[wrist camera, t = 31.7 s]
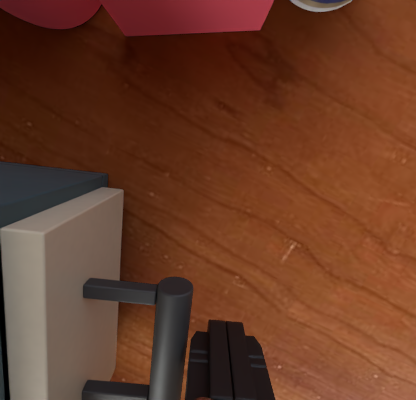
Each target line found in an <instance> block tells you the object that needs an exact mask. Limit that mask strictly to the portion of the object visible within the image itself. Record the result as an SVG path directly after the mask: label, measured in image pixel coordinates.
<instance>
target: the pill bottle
mask: <svg viewBox="0 0 416 400" xmlns="http://www.w3.org/2000/svg"><path fill="white" fill-rule="evenodd" d="M290 1H291V2H292V3H294V4H295V5H297V6H298V7H300V8H303V9H305V10H309V11H314V12H325V11H331V10H335V9H338V8H340V7H342V6H344V5H346V4H348V3H349V2H351V1H352V0H290Z"/></svg>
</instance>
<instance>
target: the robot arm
mask: <svg viewBox="0 0 416 400" xmlns="http://www.w3.org/2000/svg"><path fill="white" fill-rule="evenodd" d="M185 400H275V397H274V393H273V389H272V385H271V382H270V378H269V374H268V370H267V368H266V363H265V359H264V355H263V351H262V348H261V345H260V344H259V343H258V341H257V340H256V339H255V337H254V336H245V332H244V327H243V323H241V322H231V321H226V322H225V321H220V320H209V321H208V329H207V332H201V331H196V333H195V334H194V336H193V337H192V339H191V343H190V352H189V361H188V370H187V382H186V393H185Z"/></svg>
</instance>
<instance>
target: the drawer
mask: <svg viewBox="0 0 416 400" xmlns="http://www.w3.org/2000/svg"><path fill="white" fill-rule="evenodd" d="M123 196H124V190H122V189H114V188H105V187H101V188H99V189H96V190H94V191H91V192H89V193H87V194H84V195H82V196H79V197H77V198H74V199H72V200H69V201H67V202H64V203H62V204H59V205H57V206H54V207H52V208H49V209H47V210H44V211H42V212H39V213H37V214H34V215H32V216H30V217H27V218H25V219H22V220H20V221H17V222H15V223H12V224H10V225H7V226H5V227H2V228H1V229H0V334H1V349H2V364H3V378H4V393H5V400H180V399H181V391H182V382H183V374H184V365H185V356H186V348H187V339H188V330H189V322H190V313H191V305H192V296H193V285H192V283H191V282H190V281H189V280H187V279H185V278H181V277H168V278H165V279H163V280H161V281H160V282H159V284H158V285H157V284H147V283H138V282H128V281H120V260H121V239H122V218H123ZM119 302H127V303H137V304H147V305H155V303H156V312H155V324H154V336H153V348H152V361H151V373H150V385H144V384H133V383H122V382H111V381H110V380H111V377H112V375H113V372H114V370H115V367H116V346H117V325H118V303H119Z"/></svg>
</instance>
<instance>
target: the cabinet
mask: <svg viewBox="0 0 416 400" xmlns="http://www.w3.org/2000/svg"><path fill="white" fill-rule="evenodd" d="M101 187H105V188H108V174H106V173H97V172H88V171H80V170H71V169H62V168H53V167H45V166H36V165H27V164H19V163H10V162H1V161H0V229H1V228H2V227H5V226H7V225H10V224H12V223H15V222H17V221H20V220H22V219H25V218H27V217H30V216H32V215H34V214H37V213H39V212H42V211H44V210H47V209H49V208H52V207H54V206H57V205H59V204H62V203H64V202H67V201H69V200H72V199H74V198H77V197H79V196H82V195H84V194H87V193H89V192H91V191H94V190H96V189H99V188H101ZM0 400H5V393H4V378H3V364H2V349H1V334H0Z"/></svg>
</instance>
